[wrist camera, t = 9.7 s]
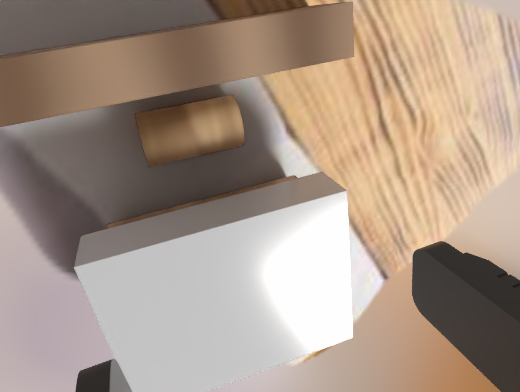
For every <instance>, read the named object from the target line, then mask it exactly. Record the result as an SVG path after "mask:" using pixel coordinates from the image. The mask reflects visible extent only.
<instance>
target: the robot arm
mask: <svg viewBox="0 0 520 392" xmlns="http://www.w3.org/2000/svg"><path fill="white" fill-rule="evenodd" d="M412 295H413V300H414V302H415V304H416V306H417V308H418V310H419V311H420V312H421V314H422V315H423V316H424V317H425V318H426V319H427V320H428V321H429V322H430V323H431V324H432V325H433V326H434V327H435V328H436V329H437V330H438V331H439V332H441V333H442V335H444V336H445V337H446V338H447V339H448V340H449V341H450V342H451V343H452V344H453V345H454V346H455V347H456V348H457V349H458V350H459V351H460V352H461V353H462V354H463V355H464V356H465V357H466V358H467V359H468V360H469V361H470V362H471V363H472V364H473V365H474V366H475V367H476V368H477V369H479V371H480V372H482V373H483V374H484V375H485V376H486V377H487V378H488V379H489V380H490V381H491V382H492V383H493V384H494V385H495V386H496V387H497V388H498V389H499V390H500V391H501V392H520V280H518V279H517V278H515V277H513V276H512V275H508V274H507V272H506V271H504V270H503V269H501V268H499V267H498V266H496V265H495V264H493V263H492V262H490V261H489V260H486V259H483V258H480V257H478V256H475V255H472V254H469V253H464V254H463V253H461V252H460V251H458V250H457V249H455V248H454V247H452V246H451V245H449V244H447V243H446V242H443V241H440V242H437V243H434V244H431V245H428V246H426V247H423V248H420V249H417V250H416V251H415V252H414V254H413V274H412ZM76 392H132V390H131V388H130V386H129V384H128V382H127V380H126V378H125V376H124V374H123V372H122V370H121V368H120V366H119V364H118V362H117V361H116V360H115V359H112V360H109V361H106V362H103V363H101V364H98V365H95V366H92V367H89V368H87V369H84V370H81V371H80V372H79V374H78V378H77V385H76Z"/></svg>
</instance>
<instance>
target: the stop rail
mask: <svg viewBox="0 0 520 392" xmlns="http://www.w3.org/2000/svg"><path fill="white" fill-rule="evenodd" d="M351 57H354V35H353V2H343V3H333V4H324V5H314V6H306V7H300V8H294V9H288V10H282V11H275V12H269V13H263V14H257V15H251V16H245V17H239V18H232V19H226V20H220V21H214V22H208V23H202V24H195V25H189V26H183V27H177V28H171V29H165V30H158V31H152V32H146V33H140V34H134V35H128V36H122V37H115V38H109V39H103V40H97V41H91V42H85V43H78V44H72V45H66V46H60V47H54V48H48V49H42V50H35V51H29V52H23V53H17V54H11V55H5V56H0V127H4V126H9V125H14V124H19V123H24V122H29V121H34V120H39V119H44V118H49V117H54V116H59V115H64V114H69V113H74V112H79V111H84V110H89V109H94V108H99V107H104V106H109V105H114V104H119V103H124V102H129V101H134V100H139V99H145V98H150V97H155V96H160V95H165V94H170V93H175V92H180V91H185V90H190V89H195V88H200V87H205V86H210V85H215V84H220V83H225V82H230V81H235V80H240V79H245V78H250V77H255V76H260V75H265V74H270V73H275V72H280V71H285V70H290V69H295V68H300V67H305V66H310V65H315V64H320V63H325V62H330V61H335V60H341V59H346V58H351Z"/></svg>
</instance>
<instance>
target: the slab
mask: <svg viewBox="0 0 520 392" xmlns="http://www.w3.org/2000/svg"><path fill="white" fill-rule="evenodd" d="M74 269H75V271H76V273H77V276H78V278H79V280H80V282H81V284H82V287H83V289H84V291H85V293H86V296H87V298H88V300H89V303H90V305H91V307H92V309H93V311H94V314H95V316H96V318H97V320H98V323H99V325H100V327H101V329H102V332H103V334H104V336H105V338H106V340H107V343H108V345H109V347H110V349H111V352H112V354H113V356H114V358H115V360H116V361H117V362H118V364H119V366H120V368H121V370H122V372H123V374H124V376H125V378H126V380H127V382H128V384H129V386H130V388H131V390H132V392H209V391H211V390H214V389H217V388H220V387H222V386H225V385H227V384H230V383H233V382H236V381H238V380H241V379H243V378H246V377H249V376H251V375H254V374H257V373H260V372H262V371H265V370H267V369H270V368H273V367H276V366H278V365H281V364H284V363H286V362H289V361H292V360H294V359H297V358H300V357H302V356H305V355H308V354H310V353H313V352H316V351H318V350H321V349H324V348H326V347H329V346H332V345H334V344H337V343H340V342H342V341H345V340H347V339H350V338H352V337H353V329H352V304H351V279H350V255H349V230H348V205H347V190H345V189H344V188H343V187H342V186H340V185H339V184H338V183H336V182H335V181H334V180H332V179H331V178H330V177H328V176H327V175H326V174H324V173H323V172H319V173H316V174H312V175H308V176H304V177H301V178H297V179H293V180H289V181H286V182H282V183H278V184H274V185H271V186H267V187H263V188H259V189H255V190H252V191H248V192H244V193H240V194H237V195H233V196H229V197H225V198H222V199H218V200H214V201H210V202H207V203H203V204H199V205H195V206H192V207H188V208H184V209H180V210H176V211H173V212H169V213H165V214H161V215H158V216H154V217H150V218H146V219H143V220H139V221H135V222H131V223H128V224H124V225H120V226H116V227H113V228H109V229H105V230H101V231H97V232H94V233H90V234H86V235H82V236H81V238H80V242H79V247H78V251H77V256H76V260H75V265H74Z"/></svg>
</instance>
